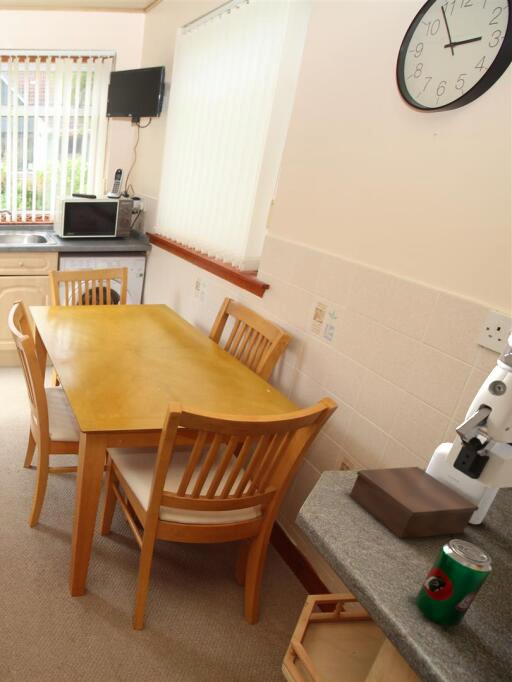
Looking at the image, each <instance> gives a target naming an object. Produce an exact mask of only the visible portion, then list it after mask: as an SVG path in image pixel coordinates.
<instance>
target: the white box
mask: <svg viewBox="0 0 512 682" xmlns="http://www.w3.org/2000/svg"><path fill="white" fill-rule="evenodd" d="M477 438H478V439H480V441H481V443H482V444H483V443H484V442H485V441H486V439H487V438H485V437H483V436H481V435H480V434H479V435H478V437H477ZM461 442H462V440H461V438H460V436H459V435H458V434H457V435H456V437H455V439H454V441H453V443H452V444H453V445H452V447H451V449H450V451H449V453H448V455H447V457H446V459H445V461H446V462H448V463H449V464H451V465H453V464H454V462H455V460H456V458H457V456H458V454H459V452H460V450H461V448H462V445H461ZM486 456H488V457H490V458H489V460H488V461H487V463H486V465H485V467H484V469H483V471H482V473H481V474H480V476H479V478H478V479H475V480H477V481H479V482H480V483H482V484H483V485H485V486H487V487H488V488H499V489H503V488H512V446H511V445H509V444H507V443H499V442H497V443H496V444H495V445H494V446H493V447H492V449H491V450H490V451H489V452H488V454H487V455H486Z"/></svg>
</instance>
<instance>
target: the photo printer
mask: <svg viewBox="0 0 512 682" xmlns="http://www.w3.org/2000/svg"><path fill="white" fill-rule="evenodd" d="M452 445H453V443H451V442H445V443H444V442H443V443H441V444H440V445H439V446H437V448H436V449H435V450H434V453H433V454H432V456H431V459H430V462H429V463H428V466H427V468H426V470H425V472H426V473H428V474H429V475H431V476H432V477H434V478H435V479H437V480H438V481H440V482H441V483H443V484H444V485H446V486H447V487H449V488H450V489H452V490H454V491H455V492H457V493H458V494H460V495H461V496H463V497H464V498H466V499H467V500H469V501H470V502H472V503H473V504H475V505H476V506H478V507H479V509H478V510H477V511H474V513H473V515H472V517H471V518H470V520H469V522H468V524H472V525H480V524H481V523H482V522H483V520H484V518H485V517H486V515H487V513H488V511H489V509H490V507H491V506H492V503H493V501H494V500H495V498H496V496H497V494H498V492H499V490H500V488H488V487H487V486H485V485H483V484H482V483H480V482H479V481H477V480H475V479H472V478H470V477H468V476H467V475H465V474H464V473H462V472H460V471H459V470H457V469H455V468H454V467H453V465H451V464H449V463H448V462H446V461H445V459H446V457H447V455H448V453H449V451H450V449H451V447H452Z"/></svg>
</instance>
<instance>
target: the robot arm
mask: <svg viewBox="0 0 512 682" xmlns="http://www.w3.org/2000/svg"><path fill="white" fill-rule="evenodd" d="M496 362H497V365H496V366H495V367H494V368H493V369H492V371H491V373H490V374H489V375H488V377H487V378H486V379H485V381H484V382H483V384H482V385H481V387H480V388H479V390H478V392H477V394H476V396H475V397H474V398H473V401H472V402H471V403H470V406H469V408H468V410H467V412H466V415H465V418H464V422H463V423H461V425H458V426H457V428H456V429H455V432H456V434H457V435H459V436H460V438H461V440H462V442H461V445H462V448H461V450H460V452H459V454H458V456H457V458H456V460H455V462H454V464H453V467H454V468H455V469H457V470H459V471H460V472H462V473H464V474H465V475H467V476H468V477H470V478H472V479H478V478H479V476H480V474H481V473H482V471H483V469H484V467H485V465H486V463H487V461H488V460H489V458H490V457H488V456H486V455H487V454H488V452H489V451H490V450H491V449H492V447H493V446H494V445H495V444H496V443H497V442H499V443H507V444H509V445H511V446H512V332H511V333H510V335H509V337H508V339H507V341H506V343H505V345H504V347H503V349H502V350H501V353H500V354H499V357H498V359H497V361H496ZM484 428H486V431H485V430H483V429H484ZM479 434H480V435H481V436H483V437H485V438H487V439H486V441H485V442H484V443H483V444H482V443H481V441H480V439H478V438H477V437H478V435H479Z"/></svg>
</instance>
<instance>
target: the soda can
mask: <svg viewBox="0 0 512 682" xmlns="http://www.w3.org/2000/svg"><path fill="white" fill-rule="evenodd" d="M492 570H493V566H492V558H491V556H490V555H489V554H488V553H487V552H486V551H485V550H484V549H482V548H481V547H479V546H477V545H475V544H473V543H471V542H468V541H465V540H463V539H451V540H450V541H448V542H446V543H444V544H443V545H442V547H441V549H440V551H439V553H438V555H436V558H435V561H434V562H433V563H432V566H431V568H430V570H429V572H428V573H427V575H426V577H425V579H424V581H423V583H422V585H421V587H420V588H419V591H418V592H417V594H416V596H415V598H414V601H415V604H416V606H417V608H418V610H419V611H420V612H421V614H422V615H423V616H425V617H426V618H427V619H428V620H430V621H432V622H434V623H435V624H438V625H440V626H443V627H458V626H459V625H460V624H461V623H462V620H463V619H464V617H465V615H466V614H467V612H468V610H469V609H470V607H471V605H472V604H473V602H474V600H475V599H476V597H477V595H478V594H479V592H480V590H481V588H482V587H483V585H484V583H485V582H486V580H487V578H488V577H489V575H490V573H491V572H492Z"/></svg>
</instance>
